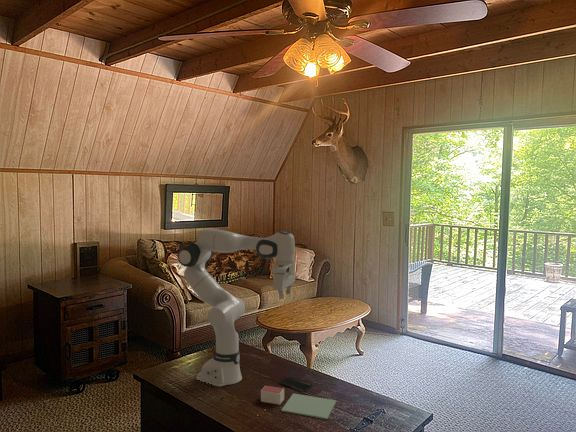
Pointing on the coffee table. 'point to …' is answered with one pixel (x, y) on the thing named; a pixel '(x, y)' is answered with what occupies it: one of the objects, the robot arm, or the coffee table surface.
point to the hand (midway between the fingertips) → (284, 296)
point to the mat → (309, 406)
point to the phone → (296, 384)
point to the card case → (272, 395)
